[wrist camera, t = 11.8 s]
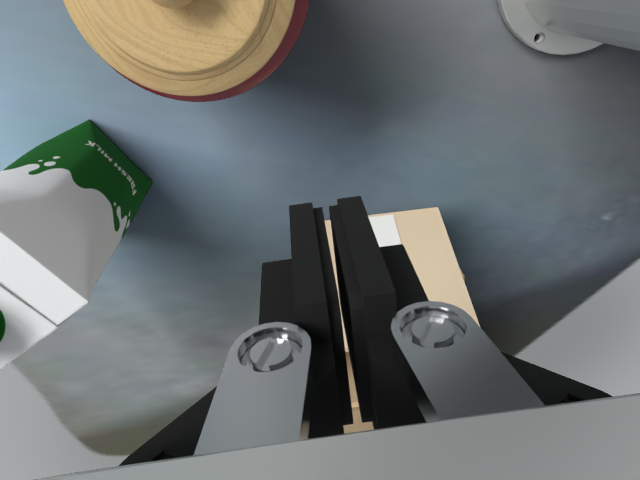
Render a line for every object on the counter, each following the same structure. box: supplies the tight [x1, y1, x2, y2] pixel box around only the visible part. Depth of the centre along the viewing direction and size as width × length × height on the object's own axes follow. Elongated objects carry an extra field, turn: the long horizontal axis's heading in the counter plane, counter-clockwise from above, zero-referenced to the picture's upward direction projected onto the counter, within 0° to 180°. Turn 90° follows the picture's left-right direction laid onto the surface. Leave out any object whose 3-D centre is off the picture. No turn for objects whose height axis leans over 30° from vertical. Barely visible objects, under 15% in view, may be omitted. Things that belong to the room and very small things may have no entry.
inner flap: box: [325, 207, 480, 352], centre depth 37 cm, size 12×12×1 cm
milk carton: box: [0, 119, 152, 370], centre depth 34 cm, size 9×9×20 cm
